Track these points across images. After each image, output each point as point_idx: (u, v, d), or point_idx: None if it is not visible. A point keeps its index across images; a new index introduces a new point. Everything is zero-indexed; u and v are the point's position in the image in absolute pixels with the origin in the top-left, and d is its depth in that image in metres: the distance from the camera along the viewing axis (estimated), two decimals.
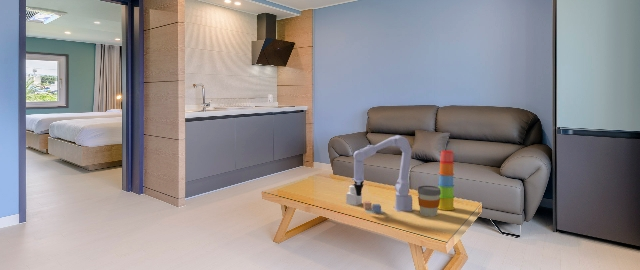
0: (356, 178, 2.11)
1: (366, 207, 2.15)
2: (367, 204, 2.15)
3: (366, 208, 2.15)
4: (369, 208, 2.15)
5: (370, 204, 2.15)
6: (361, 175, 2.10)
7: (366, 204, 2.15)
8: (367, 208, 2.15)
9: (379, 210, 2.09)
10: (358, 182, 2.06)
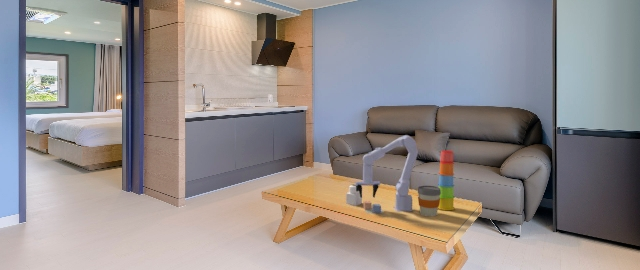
0: None
1: (366, 207, 2.15)
2: (367, 204, 2.15)
3: (366, 208, 2.15)
4: (369, 208, 2.15)
5: (370, 204, 2.15)
6: (364, 178, 2.14)
7: (366, 204, 2.15)
8: (367, 208, 2.15)
9: (379, 210, 2.09)
10: (355, 183, 2.15)
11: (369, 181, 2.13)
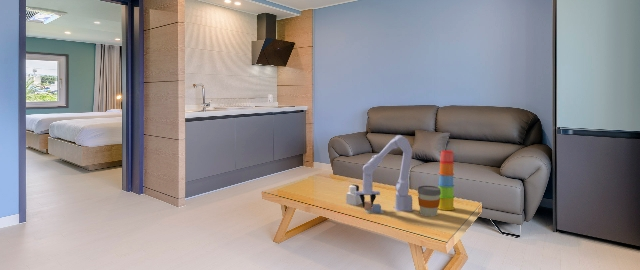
0: None
1: (366, 207, 2.15)
2: (367, 204, 2.15)
3: (366, 208, 2.15)
4: (369, 208, 2.15)
5: (370, 204, 2.15)
6: (364, 188, 2.14)
7: (366, 204, 2.15)
8: (367, 208, 2.15)
9: (379, 210, 2.09)
10: (355, 193, 2.16)
11: (369, 191, 2.13)
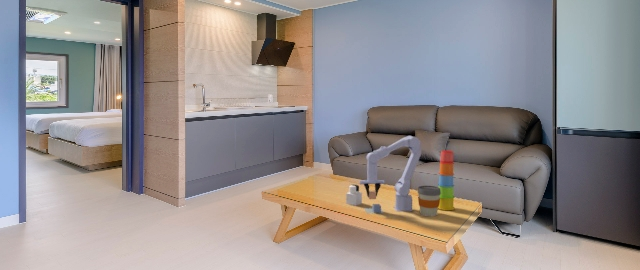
0: None
1: (371, 196, 2.11)
2: (372, 193, 2.11)
3: (371, 197, 2.12)
4: (374, 197, 2.12)
5: (375, 193, 2.11)
6: (368, 177, 2.11)
7: (371, 193, 2.11)
8: (372, 197, 2.12)
9: (379, 210, 2.09)
10: None
11: (374, 180, 2.10)
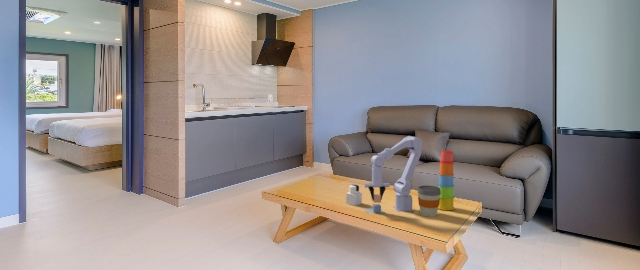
0: None
1: (375, 200, 2.08)
2: (376, 197, 2.08)
3: (375, 201, 2.08)
4: (378, 201, 2.09)
5: (379, 197, 2.08)
6: (373, 180, 2.07)
7: (375, 197, 2.08)
8: (376, 201, 2.08)
9: (379, 210, 2.09)
10: (364, 185, 2.09)
11: (378, 183, 2.07)
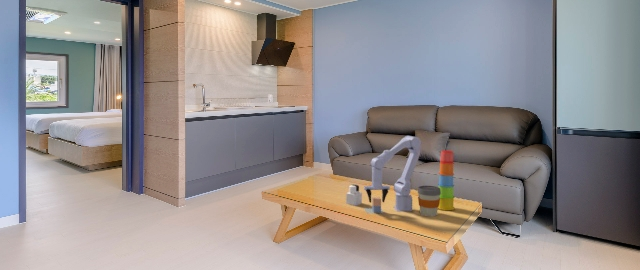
0: None
1: (375, 203, 2.09)
2: (376, 200, 2.08)
3: (375, 204, 2.09)
4: (378, 204, 2.09)
5: (379, 200, 2.09)
6: (373, 183, 2.08)
7: (375, 200, 2.08)
8: (376, 204, 2.09)
9: (379, 210, 2.09)
10: (364, 187, 2.09)
11: (378, 185, 2.07)
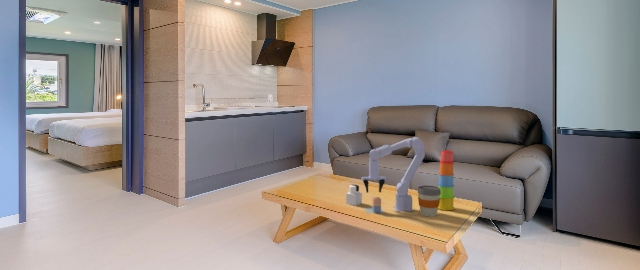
0: None
1: (375, 203, 2.09)
2: (376, 200, 2.08)
3: (375, 204, 2.09)
4: (378, 204, 2.09)
5: (379, 200, 2.09)
6: (370, 173, 2.15)
7: (375, 200, 2.08)
8: (376, 204, 2.09)
9: (379, 210, 2.09)
10: None
11: (375, 176, 2.14)
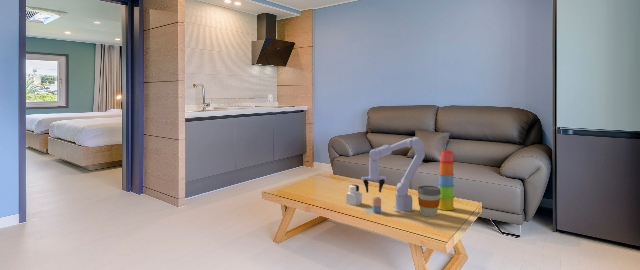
0: None
1: (375, 203, 2.09)
2: (376, 200, 2.08)
3: (375, 204, 2.09)
4: (378, 204, 2.09)
5: (379, 200, 2.09)
6: (370, 173, 2.15)
7: (375, 200, 2.08)
8: (376, 204, 2.09)
9: (379, 210, 2.09)
10: None
11: (375, 176, 2.14)
